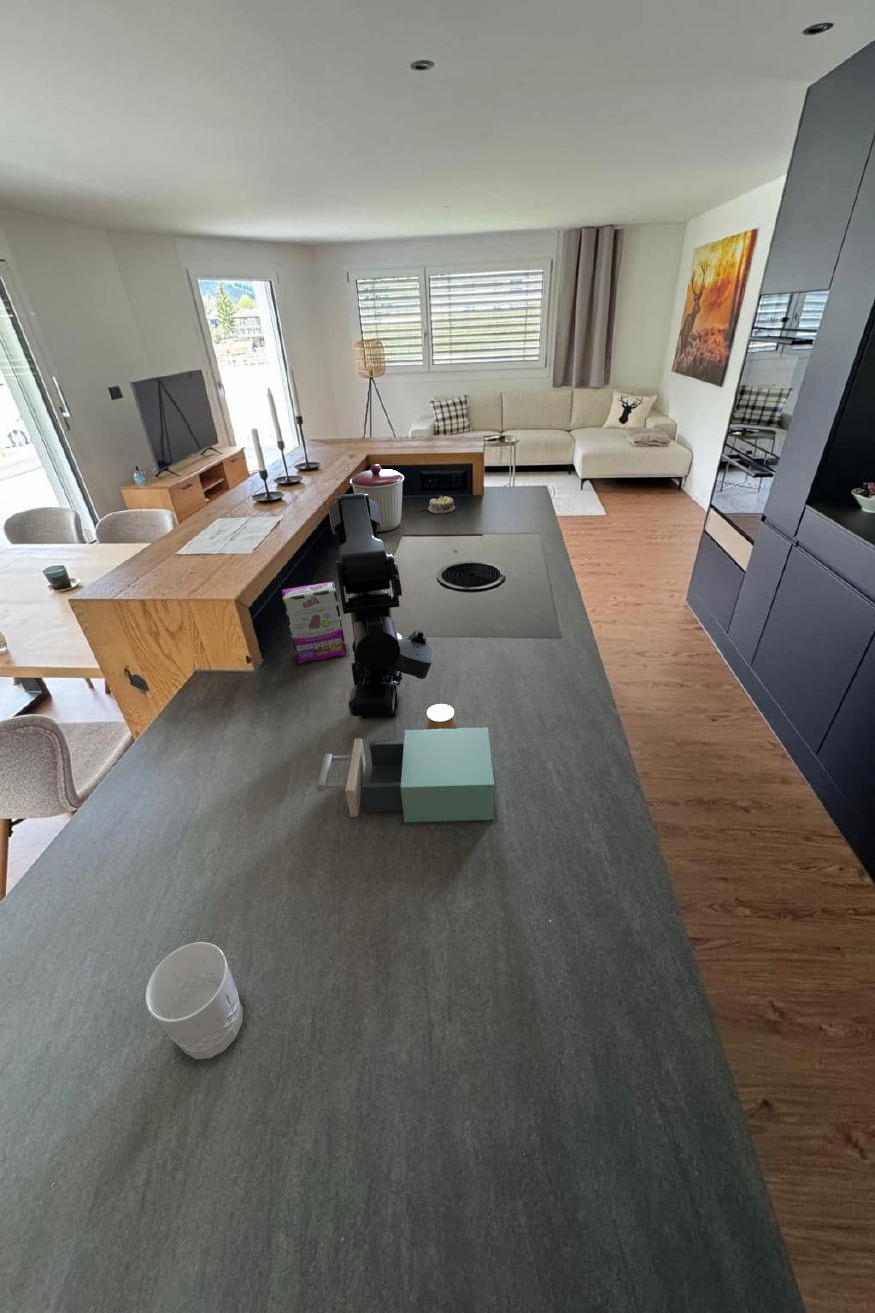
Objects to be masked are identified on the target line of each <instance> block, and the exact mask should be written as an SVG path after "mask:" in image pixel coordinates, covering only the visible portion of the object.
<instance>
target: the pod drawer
mask: <svg viewBox="0 0 875 1313" xmlns="http://www.w3.org/2000/svg"><path fill="white" fill-rule="evenodd" d="M368 746H369V752H370V761H371V772H370V778H369V783H368V782H367V783H364V779H365V772H366V765H367V762H366V761H367V760H366V755H365V749H364V743H363V738H361V737H359V738H354V742H353V745H352V752H351V755H333V753H325V754H324V756H323V760H322V763H321V764H322V765H321V769H320V771H319V772H320V773H319V777H318V780H317V786H316V789H317V791H318V792H325V791H326V790H327V789H328V790H329V789H345V796H346V801H347V807H348V811H349V816H350V817H351V818H352V817H353V818H354V817H355V818H357V817H359V813H360V806H361V798H362V793H363V796H364V802H365V809H366V812H393V811H403V804H402V795H401V775H402V762H403V748H404V740H387V741H386V740H384V741H383V740H382V741H381V740H380V741H369V744H368ZM341 761H342V762H343V761H350V763H349V769H348V774H347V780H346V782H328V781H329V778H330V772H331V768H332V764H333V762H341Z"/></svg>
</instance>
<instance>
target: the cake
mask: <svg viewBox="0 0 875 1313" xmlns="http://www.w3.org/2000/svg"><path fill="white" fill-rule="evenodd" d="M438 497H439V498H431V499H430V500H429V506H428V508H427V510H428V512H430V513H433V514H448V513H451V512H453V511H454V510H455V509H456V507H455V501H454V499H453V498H452V497H450V496H445V495H444V496H443V495H441V494H440V495H439V496H438Z"/></svg>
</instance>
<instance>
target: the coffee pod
mask: <svg viewBox="0 0 875 1313" xmlns="http://www.w3.org/2000/svg"><path fill="white" fill-rule="evenodd" d="M426 716H427V718H428V730H429V729H454V716H455V710H454V708H453V707H452V706H450V705H448V704H445V703H444V704H443V703H439V704H437V703H436V704H434V705H432V706H430V707H429V708H428V709H427V711H426Z"/></svg>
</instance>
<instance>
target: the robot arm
mask: <svg viewBox="0 0 875 1313" xmlns="http://www.w3.org/2000/svg"><path fill="white" fill-rule="evenodd" d="M336 498H337V501H336V502H335V503H333V504H332V505H331V506H329V507H328V514H329V521H330V529H331V532H332V535H336V540H337V544H338V546H339V555H340V560H336V561H335V563H336V564H335V565H336V571H337V579H338V586H339V592H340V594H339V595H340V600H341V606H342V608H341V609H342V614H343V615H345V614H350V619H351V626H352V634H353V642H352V645H351V648H352V653H353V659H354V662H351V663H350V665H351V672H352V679H353V685H354V687H353V688H352V689H351V692H350V694H349V698H348V711H349V715H351V716H353V717H361V718H362V719H376V718H377V719H378V718H380V719H381V718H394V717H396V714H397V709H398V708H399V703H400V697H399V686H400V685H401V681H402V680H403V675H402V674H406V675H409V676H413V677H416V678H417V679H419V680H424V679H426V678H427V676H428V674H429V671H430V668H431V666H432V663H433V655H434V649H433V647H432V644H431V643H430V642H427V636H426V632H425V631H422V630H418V629H416V630H415V631H414V632H412V633H411V634H410V635H408V636H405V638H404V639H403V636H402V635H401V634H400V633H399V632H398V631H397V630H396V626H395V623H394V619H393V618H392V608H393V609H394V608H399V607H400V606H401V604H400V598H399V597H401V596H402V595H403V589H402V584H401V578H400V572H399V566H398V562H397V561H395V557H394V556H393V555H392V554H388V552H387V548H386V545H385V542H384V541H382V540H381V539H378V531H377V530H380V518H379V511H378V504H377V502H374V501H372V500H370V499H369V497H368V494H364V493H358V494H354V493H350V494H341V495H340V496H336ZM390 588H391V590H392V593H391V592H387V593H385V592H384V591H385V590H390ZM345 593H346V594H345ZM346 595H352V597H349V598H347V600H348V601H346Z"/></svg>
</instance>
